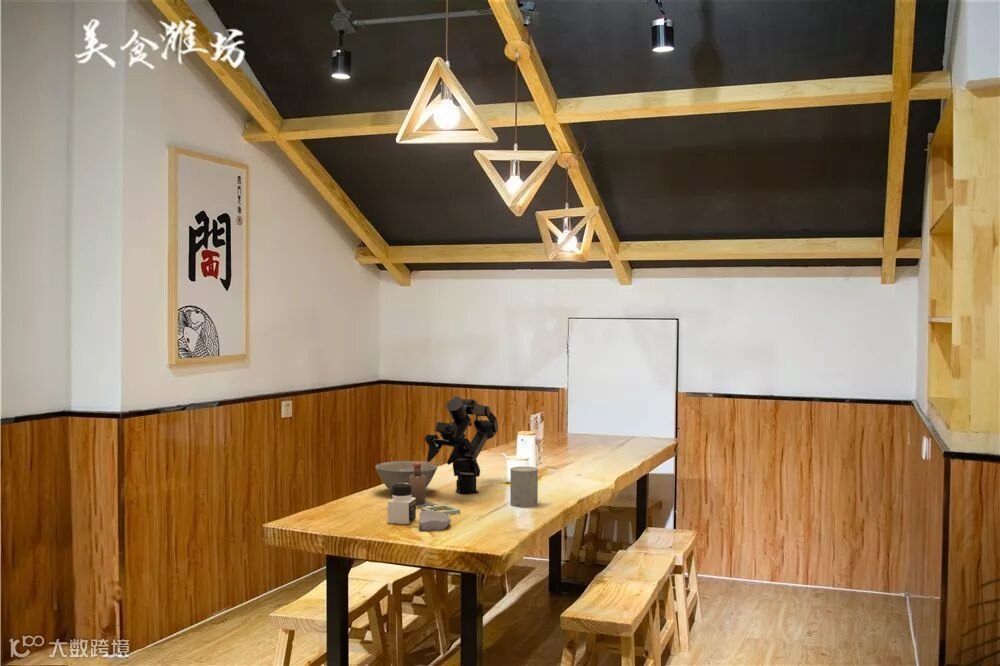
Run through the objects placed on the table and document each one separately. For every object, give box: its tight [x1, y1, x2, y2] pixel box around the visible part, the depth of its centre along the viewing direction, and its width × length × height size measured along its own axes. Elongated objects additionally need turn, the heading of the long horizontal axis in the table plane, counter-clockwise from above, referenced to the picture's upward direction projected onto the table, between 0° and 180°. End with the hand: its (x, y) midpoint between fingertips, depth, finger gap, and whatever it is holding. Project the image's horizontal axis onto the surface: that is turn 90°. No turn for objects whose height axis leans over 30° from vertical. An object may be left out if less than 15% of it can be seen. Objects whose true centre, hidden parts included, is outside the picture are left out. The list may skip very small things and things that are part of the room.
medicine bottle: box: [387, 483, 417, 525], centre depth 284 cm, size 7×7×12 cm
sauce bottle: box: [409, 461, 426, 505], centre depth 309 cm, size 5×5×14 cm
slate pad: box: [416, 499, 438, 507], centre depth 309 cm, size 10×10×1 cm
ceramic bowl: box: [374, 460, 438, 492], centre depth 329 cm, size 22×23×10 cm
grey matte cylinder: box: [509, 466, 539, 508], centre depth 310 cm, size 10×10×12 cm
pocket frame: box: [420, 504, 461, 516], centre depth 297 cm, size 10×10×1 cm
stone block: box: [418, 510, 452, 532], centre depth 278 cm, size 12×5×10 cm
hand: (437, 462), depth 314 cm, fingers open, 9 cm apart
